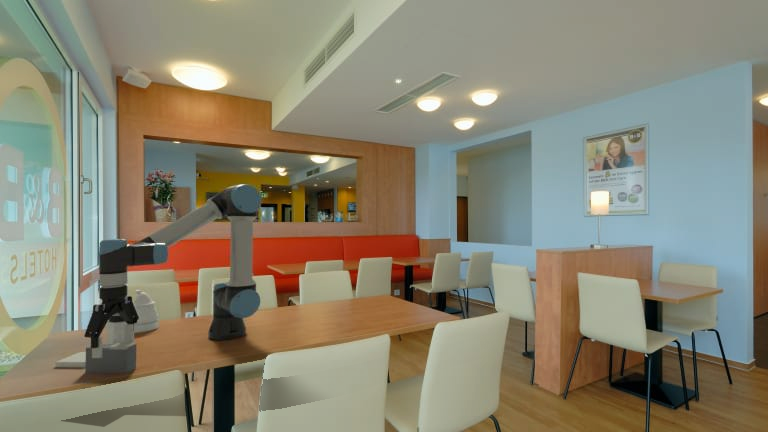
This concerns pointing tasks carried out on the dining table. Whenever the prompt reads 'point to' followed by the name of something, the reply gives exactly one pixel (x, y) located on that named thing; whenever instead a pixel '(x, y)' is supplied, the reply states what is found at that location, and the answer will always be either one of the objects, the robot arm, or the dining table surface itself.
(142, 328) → the honey pot
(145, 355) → the dining table surface
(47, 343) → the dining table surface
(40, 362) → the dining table surface
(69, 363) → the tile
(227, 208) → the robot arm
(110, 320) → the jar
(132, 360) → the grey rectangular block
